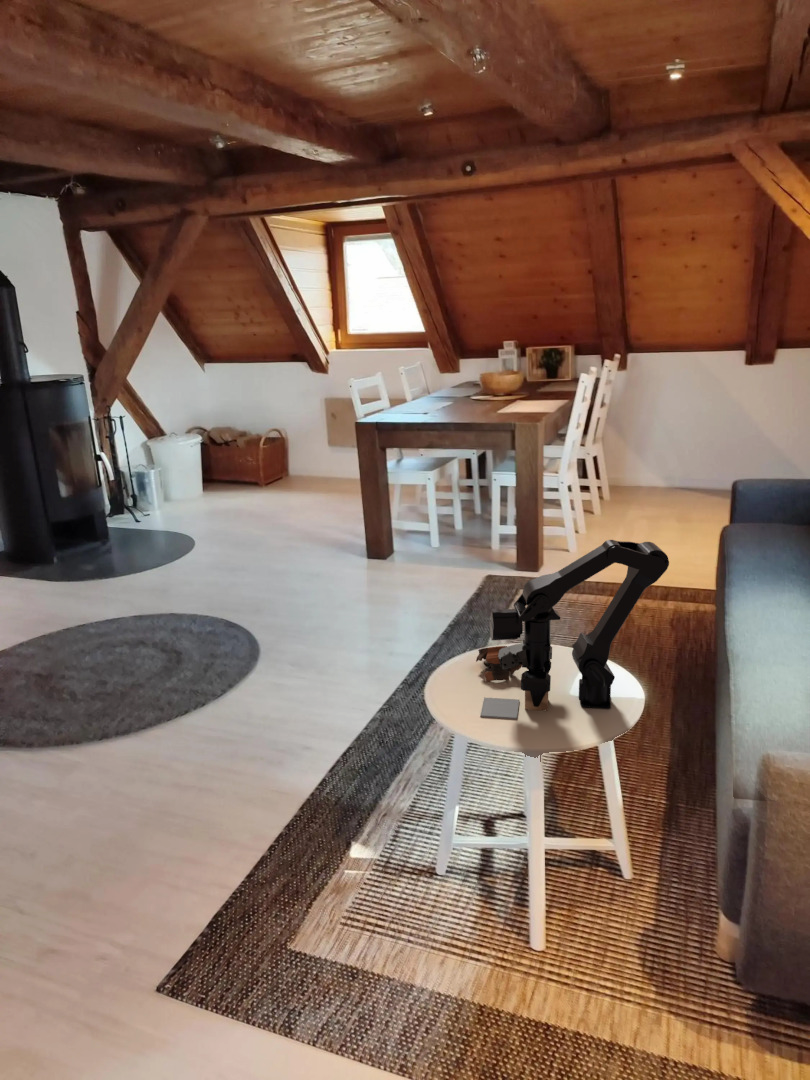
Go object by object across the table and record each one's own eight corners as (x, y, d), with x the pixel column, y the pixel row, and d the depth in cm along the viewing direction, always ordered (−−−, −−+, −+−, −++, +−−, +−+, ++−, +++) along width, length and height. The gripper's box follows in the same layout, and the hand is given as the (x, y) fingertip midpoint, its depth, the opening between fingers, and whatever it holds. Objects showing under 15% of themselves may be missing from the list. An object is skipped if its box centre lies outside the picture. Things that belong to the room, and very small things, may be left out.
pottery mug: (473, 683, 187) (469, 649, 189) (486, 683, 195) (482, 650, 197) (521, 677, 182) (516, 642, 184) (532, 677, 191) (528, 644, 192)
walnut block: (548, 699, 177) (548, 680, 175) (547, 710, 172) (547, 690, 171) (526, 698, 178) (526, 678, 176) (524, 709, 173) (525, 689, 172)
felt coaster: (519, 701, 177) (519, 699, 177) (516, 719, 169) (516, 717, 169) (484, 698, 178) (484, 697, 178) (480, 716, 171) (480, 715, 171)
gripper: (503, 618, 180) (504, 678, 185) (496, 654, 163) (497, 719, 168) (552, 620, 178) (551, 681, 183) (550, 656, 161) (549, 722, 165)
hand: (536, 700), depth 175 cm, fingers closed on walnut block, 5 cm apart
